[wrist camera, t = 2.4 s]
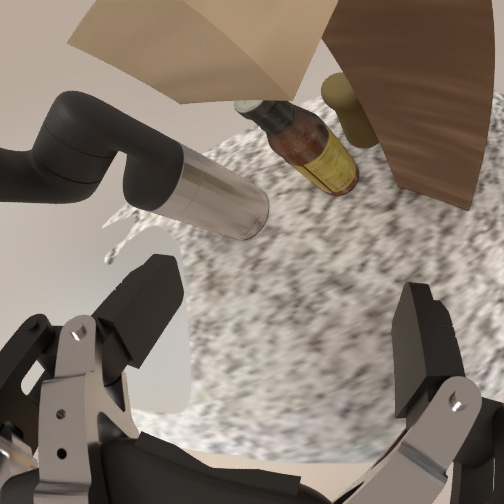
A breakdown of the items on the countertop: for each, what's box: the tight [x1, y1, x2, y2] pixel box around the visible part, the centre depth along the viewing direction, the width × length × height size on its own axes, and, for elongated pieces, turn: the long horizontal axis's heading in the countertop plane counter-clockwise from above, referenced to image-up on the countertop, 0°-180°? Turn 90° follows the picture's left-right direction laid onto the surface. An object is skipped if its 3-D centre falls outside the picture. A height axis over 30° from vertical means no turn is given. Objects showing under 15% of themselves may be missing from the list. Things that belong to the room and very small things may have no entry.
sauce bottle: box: [234, 100, 358, 195], centre depth 30 cm, size 6×6×20 cm
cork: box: [321, 73, 379, 148], centre depth 31 cm, size 6×6×11 cm
